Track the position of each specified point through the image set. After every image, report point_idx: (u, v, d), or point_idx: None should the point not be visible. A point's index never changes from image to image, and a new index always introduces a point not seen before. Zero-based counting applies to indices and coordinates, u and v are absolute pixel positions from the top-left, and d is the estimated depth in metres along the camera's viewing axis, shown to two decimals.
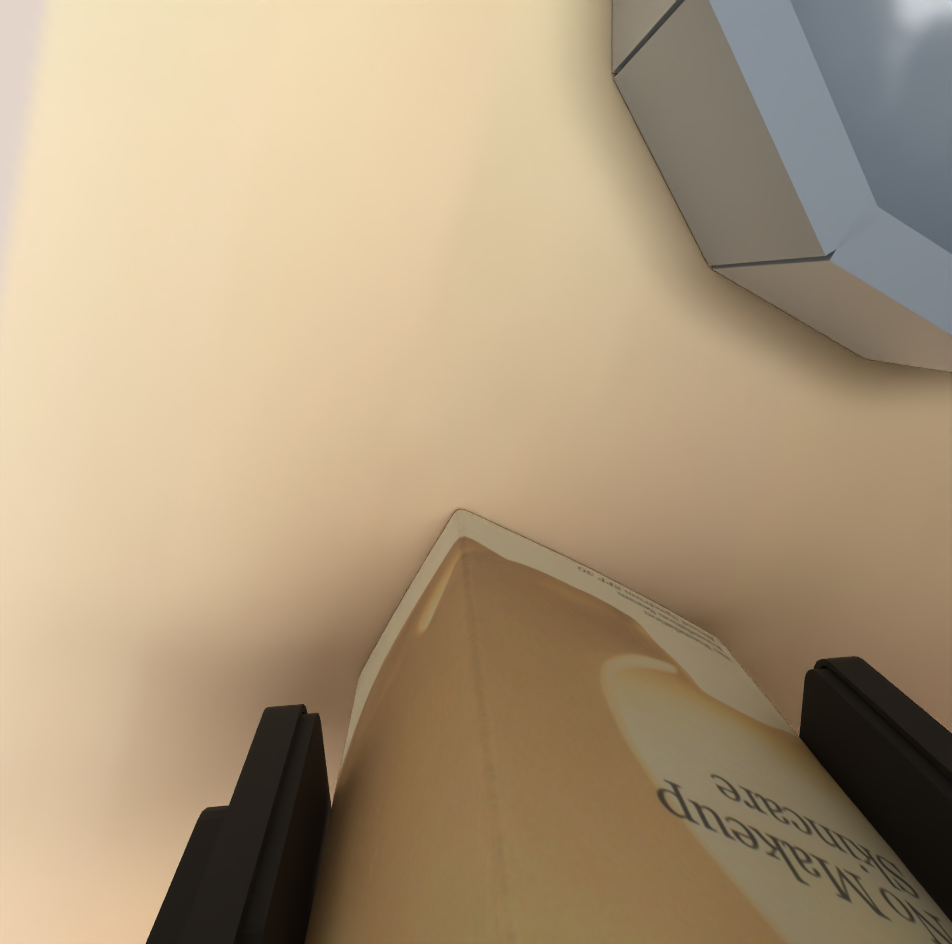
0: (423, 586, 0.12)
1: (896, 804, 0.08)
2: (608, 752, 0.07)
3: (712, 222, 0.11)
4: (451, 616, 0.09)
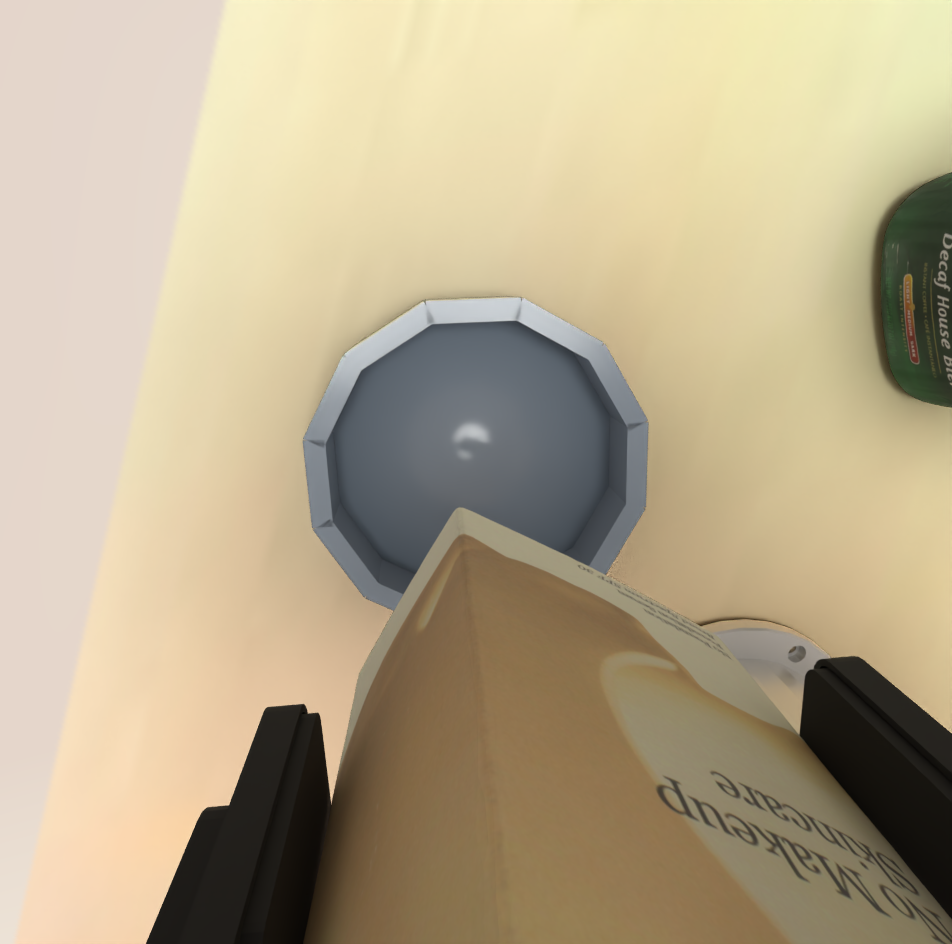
0: (422, 584, 0.11)
1: (896, 804, 0.08)
2: (607, 748, 0.07)
3: None
4: (450, 614, 0.09)
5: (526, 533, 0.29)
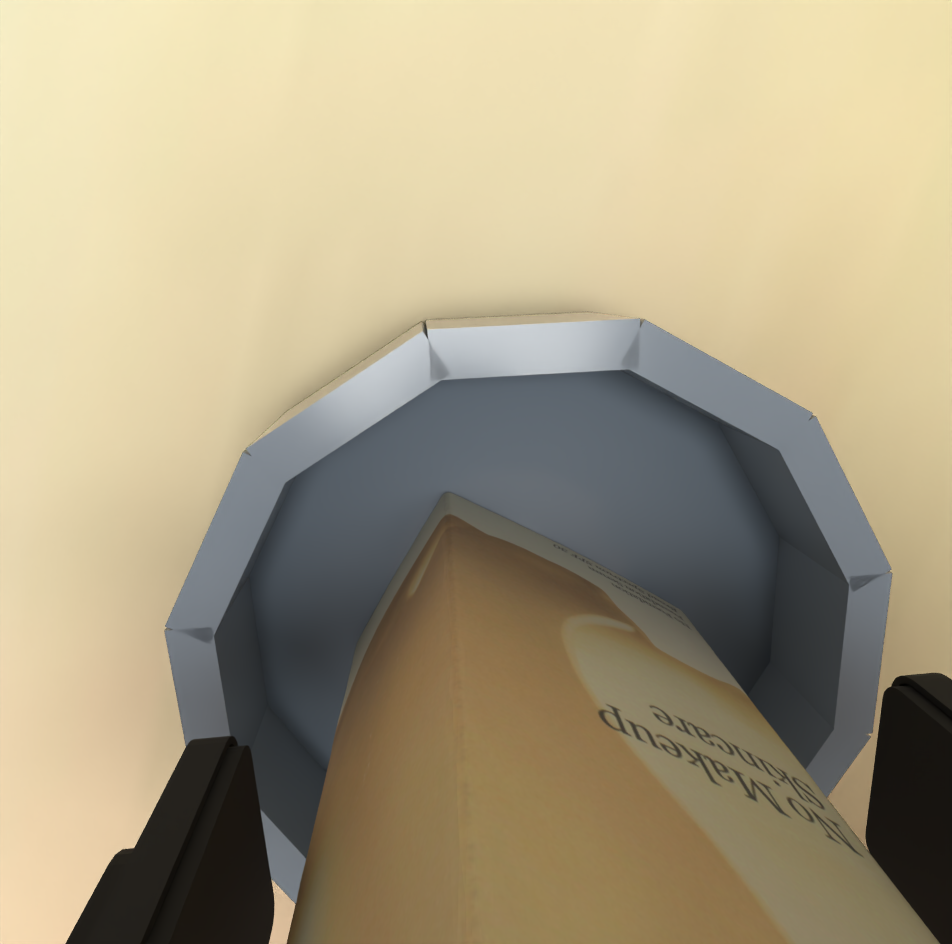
0: (413, 559, 0.13)
1: None
2: (559, 681, 0.08)
3: None
4: (435, 579, 0.10)
5: None
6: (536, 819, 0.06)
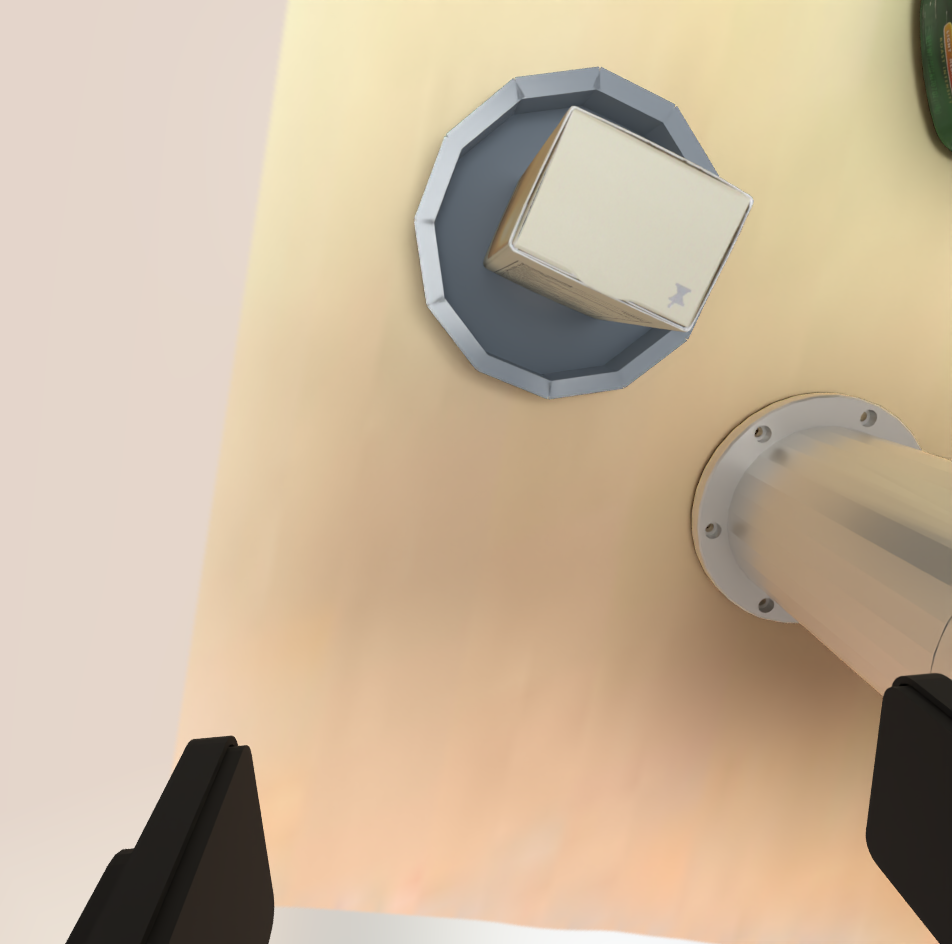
0: (510, 199, 0.29)
1: None
2: None
3: None
4: (526, 170, 0.27)
5: None
6: None
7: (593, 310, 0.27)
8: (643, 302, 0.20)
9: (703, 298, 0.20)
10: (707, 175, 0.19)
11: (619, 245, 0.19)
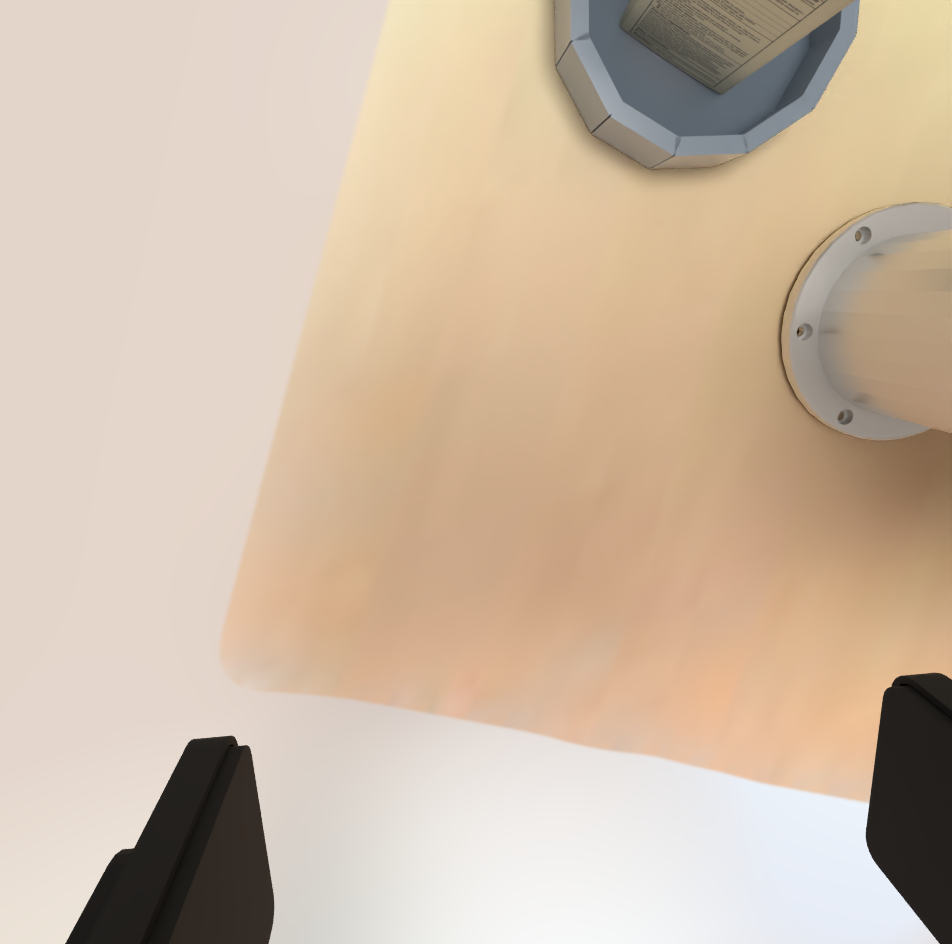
0: None
1: None
2: None
3: (587, 114, 0.33)
4: None
5: (734, 94, 0.33)
6: None
7: (740, 45, 0.28)
8: None
9: None
10: None
11: None
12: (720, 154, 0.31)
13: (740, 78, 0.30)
